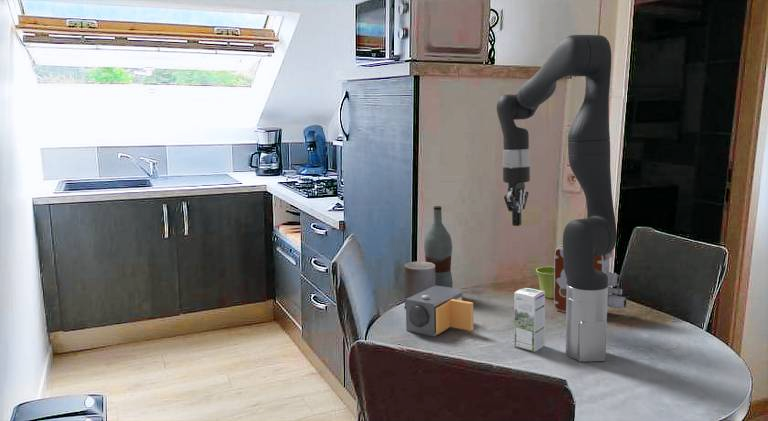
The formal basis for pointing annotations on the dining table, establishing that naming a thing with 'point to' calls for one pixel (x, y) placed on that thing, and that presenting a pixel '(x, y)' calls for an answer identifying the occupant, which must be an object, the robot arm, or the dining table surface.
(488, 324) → the dining table surface
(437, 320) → the orange l-shaped bracket
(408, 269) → the pillar candle
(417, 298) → the block
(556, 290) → the cine camera
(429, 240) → the bottle
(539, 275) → the plant pot
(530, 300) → the syrup box
